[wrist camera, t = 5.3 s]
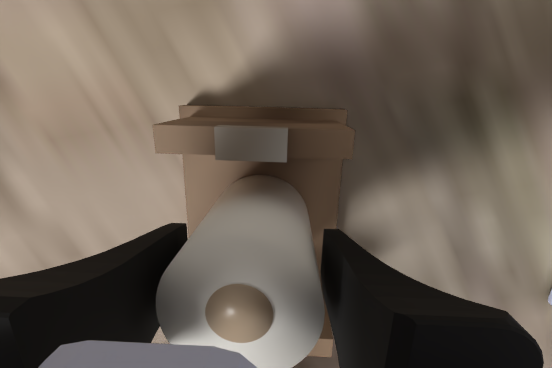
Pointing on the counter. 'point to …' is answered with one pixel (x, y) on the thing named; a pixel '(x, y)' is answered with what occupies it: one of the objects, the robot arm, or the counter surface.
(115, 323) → the robot arm
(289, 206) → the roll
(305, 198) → the holder
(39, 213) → the counter surface
